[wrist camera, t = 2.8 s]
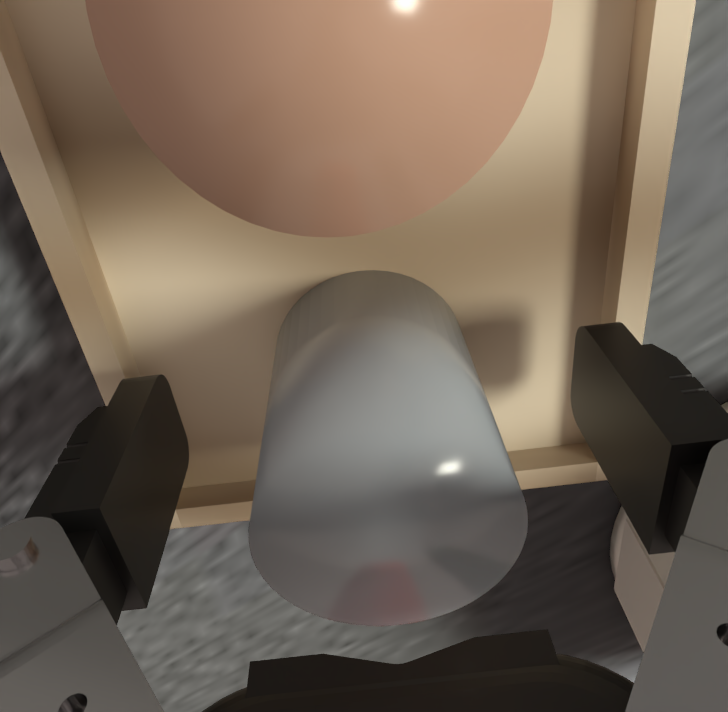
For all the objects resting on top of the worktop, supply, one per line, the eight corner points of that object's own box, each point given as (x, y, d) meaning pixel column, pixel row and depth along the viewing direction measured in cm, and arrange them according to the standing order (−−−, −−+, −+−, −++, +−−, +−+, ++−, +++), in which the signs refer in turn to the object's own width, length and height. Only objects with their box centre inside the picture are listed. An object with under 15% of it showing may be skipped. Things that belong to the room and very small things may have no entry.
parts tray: (-123, -269, 8) (-189, -305, 7) (708, -382, 8) (764, -435, 7) (168, 494, 15) (157, 530, 14) (601, 445, 15) (620, 478, 14)
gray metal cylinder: (258, 282, 12) (219, 448, 8) (461, 258, 12) (533, 413, 8) (293, 439, 14) (276, 637, 10) (465, 419, 14) (523, 610, 10)
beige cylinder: (164, -146, 8) (-3, -273, 4) (450, -184, 8) (571, -352, 4) (229, 147, 11) (159, 259, 6) (458, 119, 11) (543, 213, 6)
